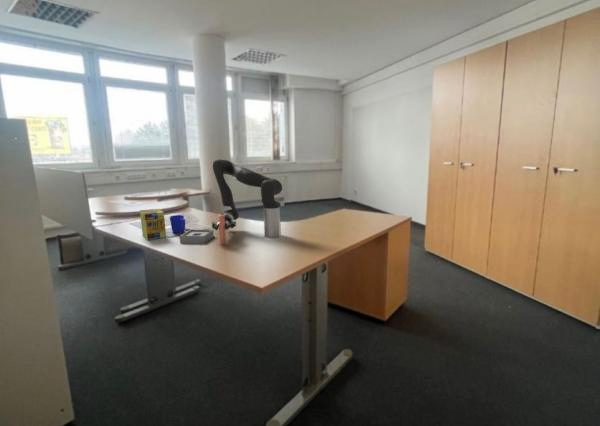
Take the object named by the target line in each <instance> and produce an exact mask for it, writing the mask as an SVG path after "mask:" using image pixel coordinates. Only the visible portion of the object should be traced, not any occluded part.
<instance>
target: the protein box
mask: <svg viewBox="0 0 600 426" xmlns="http://www.w3.org/2000/svg"><path fill="white" fill-rule="evenodd" d="M139 215H140V223H141V232H142V236H143V238H145V239H146V240H147V241H154V240H159V239H166V238H167V230H166V221H165V220H166V219H165V212H164V211H162V210H161V209H159V208H151V209H143V210H141V209H140V210H139Z"/></svg>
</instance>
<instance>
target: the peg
mask: <svg viewBox="0 0 600 426" xmlns="http://www.w3.org/2000/svg"><path fill="white" fill-rule="evenodd" d="M217 219H218V221H219V228H218V230H219V244H220V245H221V246H226V245H227V236H226V234H227V233H226V229H225V217H224V215H222V214H218V218H217Z"/></svg>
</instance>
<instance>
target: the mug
mask: <svg viewBox="0 0 600 426" xmlns="http://www.w3.org/2000/svg"><path fill="white" fill-rule="evenodd" d="M169 220H170V221H169V222H170V226H171V227H170V228H171V231H172V233H175V234H177V233H183V232H184V231H185V229H186V219H185V218H184V215H181V214H177V215H176V214H175V215H170V216H169Z"/></svg>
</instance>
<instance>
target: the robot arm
mask: <svg viewBox="0 0 600 426" xmlns="http://www.w3.org/2000/svg"><path fill="white" fill-rule="evenodd" d="M212 171H213V173H214V177H215V179H216V183H217V186H218V188H219V193H220V197H221V202H222V206H223V207H230V208H231V209H226V210H222V211H221V215H224V217H225V231H228V230H229V229H233V228H235V227H237V221H238V219H239V217H240V214H239V210H238V209H237V208H236V204H235V201H234V197H233V193H232V190H231V188H230V186H229V184H228V183H227V181H226V179H225V175H228V176H232V177H234V178H235V179H236V181H238V182H239V183H241V184H244V185H246V186H250V187H255V188H260V195H261V203H262V205H263V228H264V229H263V231H264V237H265V238H268V239H275V238H280V237H281V235H282V229H281V228H282V227H281V226H282V224H281V218H280V217H281V216H280V215H281V214H280V213H281V211H280V210H281V209H280V202H279V201H277V200H276V199H275V196H276V195H279V194H280V193H282V191H283V186H282V183H281V182H280V181H279V180H278V179H276V178H273V177H268V176H264V175H263V174H261V173H259V172H255V171H254V170H252V169H249V168H246V167H243V166H239V165H237V164H235V163H233V162H232V161H230V160H227V159H222V158H221V159H220V158H218V159H214V161H213V164H212ZM236 220H237V221H236ZM211 228H212V230H215V231H218V230H219V220H218V221H217V222H215V221H211Z"/></svg>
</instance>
